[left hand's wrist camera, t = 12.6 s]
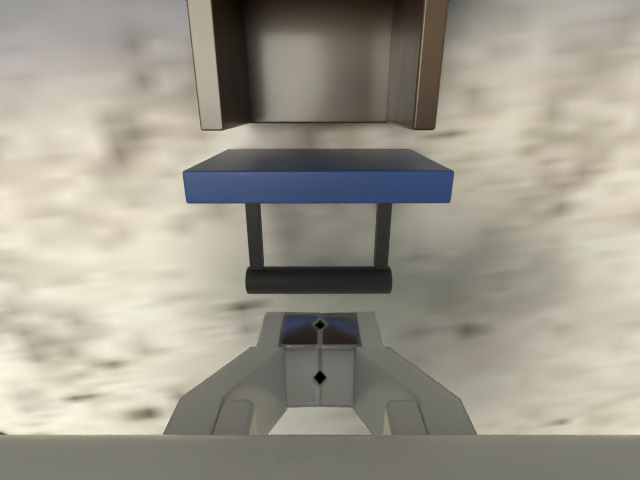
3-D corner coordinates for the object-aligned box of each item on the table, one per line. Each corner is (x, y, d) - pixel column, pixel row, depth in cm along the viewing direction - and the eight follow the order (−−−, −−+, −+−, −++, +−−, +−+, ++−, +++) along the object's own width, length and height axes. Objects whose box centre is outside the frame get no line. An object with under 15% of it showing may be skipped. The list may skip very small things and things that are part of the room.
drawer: (400, 262, 22) (434, 327, 15) (237, 262, 22) (202, 328, 15) (442, -230, 14) (542, -502, 8) (193, -230, 14) (90, -502, 8)
